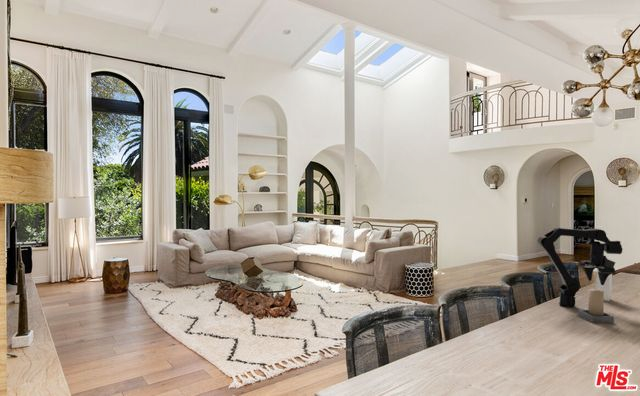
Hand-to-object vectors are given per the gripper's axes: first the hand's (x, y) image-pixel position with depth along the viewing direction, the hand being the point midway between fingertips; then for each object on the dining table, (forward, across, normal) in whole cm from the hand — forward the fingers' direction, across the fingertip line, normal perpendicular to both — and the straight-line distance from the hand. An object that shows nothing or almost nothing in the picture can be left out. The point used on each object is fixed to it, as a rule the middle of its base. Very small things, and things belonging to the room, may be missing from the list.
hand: (596, 282), depth 212 cm
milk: (+13, +16, -16) cm, 27 cm away
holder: (+13, -19, +13) cm, 26 cm away
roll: (+12, -19, +13) cm, 26 cm away
